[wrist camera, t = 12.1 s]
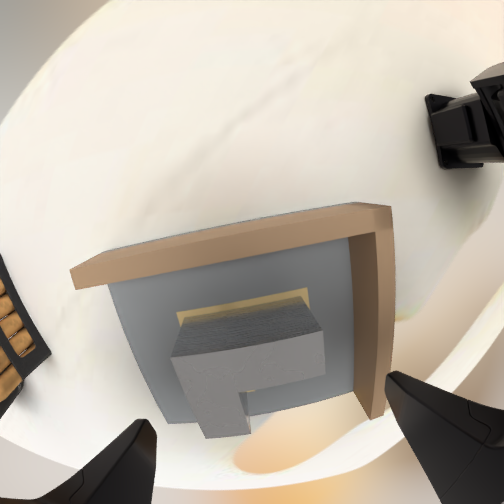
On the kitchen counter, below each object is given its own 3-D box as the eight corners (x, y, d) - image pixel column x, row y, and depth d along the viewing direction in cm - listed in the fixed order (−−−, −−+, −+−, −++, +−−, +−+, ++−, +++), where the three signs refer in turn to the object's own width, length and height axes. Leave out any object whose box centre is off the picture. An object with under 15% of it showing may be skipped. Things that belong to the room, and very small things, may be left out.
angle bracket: (309, 374, 20) (326, 417, 15) (209, 392, 19) (205, 438, 15) (300, 295, 18) (322, 330, 13) (184, 317, 18) (170, 357, 13)
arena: (354, 202, 18) (391, 206, 13) (362, 382, 21) (383, 415, 17) (103, 251, 17) (69, 269, 13) (169, 417, 21) (161, 455, 16)
